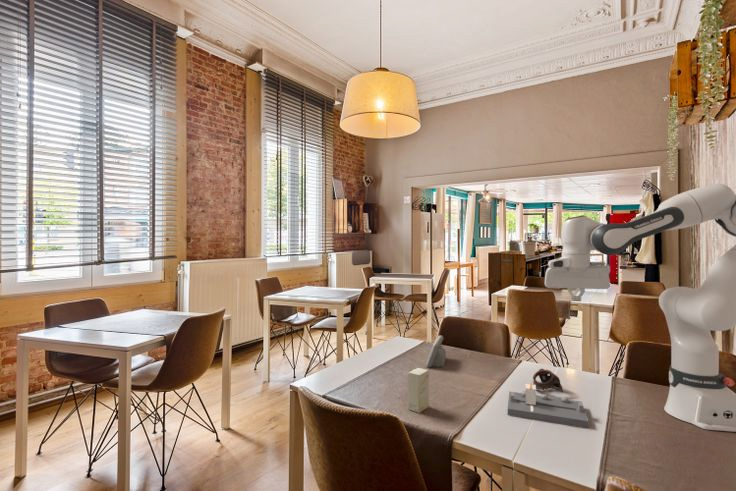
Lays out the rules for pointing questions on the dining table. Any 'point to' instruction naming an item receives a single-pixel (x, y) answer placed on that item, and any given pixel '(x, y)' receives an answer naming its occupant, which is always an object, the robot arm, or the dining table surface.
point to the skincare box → (418, 389)
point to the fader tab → (531, 394)
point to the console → (548, 409)
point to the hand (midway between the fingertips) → (576, 301)
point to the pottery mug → (546, 380)
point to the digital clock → (436, 354)
